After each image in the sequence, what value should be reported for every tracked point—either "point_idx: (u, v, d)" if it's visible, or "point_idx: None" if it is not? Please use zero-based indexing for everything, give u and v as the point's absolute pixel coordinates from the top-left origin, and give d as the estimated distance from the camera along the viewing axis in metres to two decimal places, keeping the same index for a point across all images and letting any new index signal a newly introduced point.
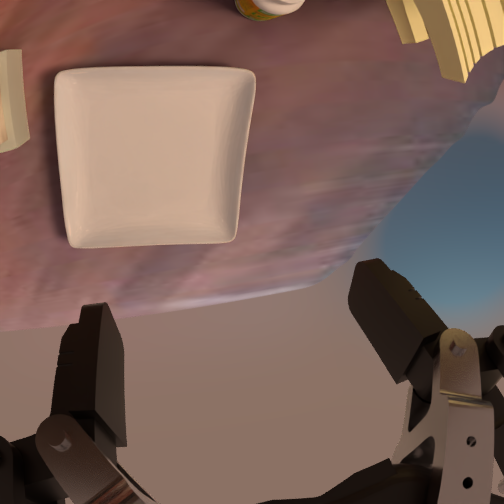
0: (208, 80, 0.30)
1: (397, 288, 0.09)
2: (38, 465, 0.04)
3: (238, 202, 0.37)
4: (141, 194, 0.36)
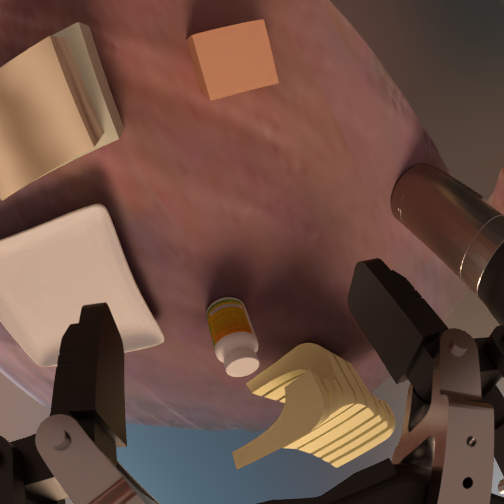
0: (142, 314, 0.38)
1: (397, 288, 0.09)
2: (38, 465, 0.04)
3: None
4: (30, 295, 0.33)
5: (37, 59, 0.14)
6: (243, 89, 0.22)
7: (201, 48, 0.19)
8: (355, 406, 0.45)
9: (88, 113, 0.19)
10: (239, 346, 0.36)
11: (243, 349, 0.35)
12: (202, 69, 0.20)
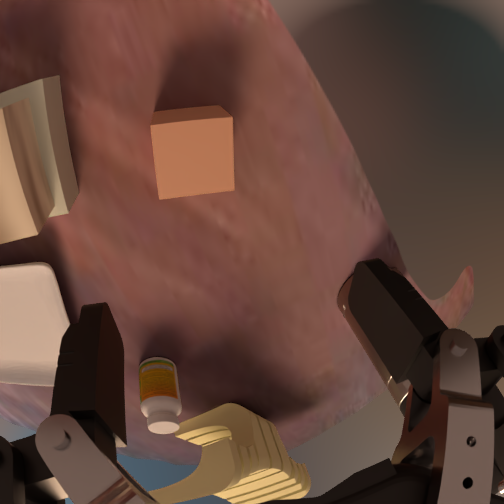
0: None
1: (397, 288, 0.09)
2: (38, 465, 0.04)
3: (7, 382, 0.33)
4: None
5: None
6: (195, 192, 0.23)
7: (158, 142, 0.20)
8: (270, 470, 0.44)
9: (37, 191, 0.19)
10: (163, 409, 0.34)
11: (166, 413, 0.34)
12: (155, 165, 0.21)
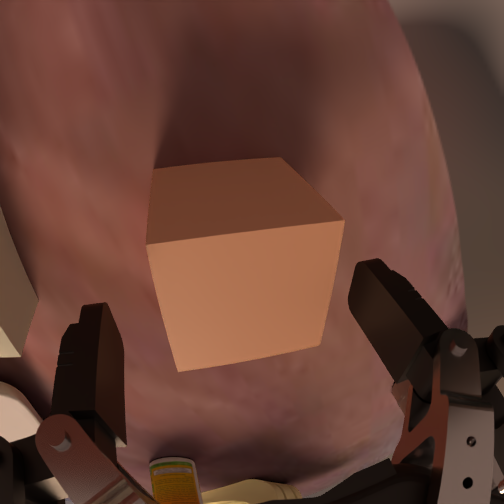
0: None
1: (397, 288, 0.09)
2: (38, 465, 0.04)
3: None
4: None
5: None
6: (248, 357, 0.11)
7: (169, 280, 0.09)
8: None
9: None
10: None
11: None
12: (166, 323, 0.10)
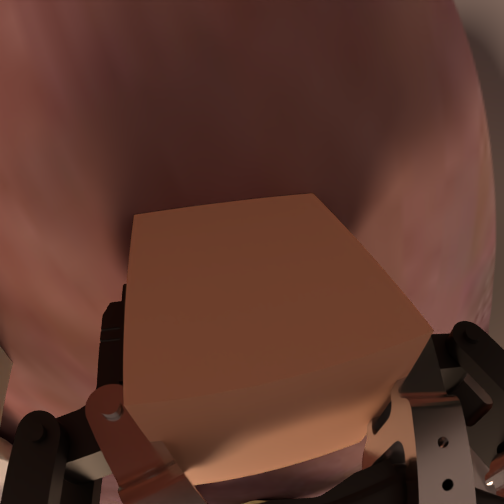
0: None
1: None
2: (85, 448, 0.05)
3: None
4: None
5: None
6: (274, 467, 0.08)
7: (167, 433, 0.05)
8: None
9: None
10: None
11: None
12: None
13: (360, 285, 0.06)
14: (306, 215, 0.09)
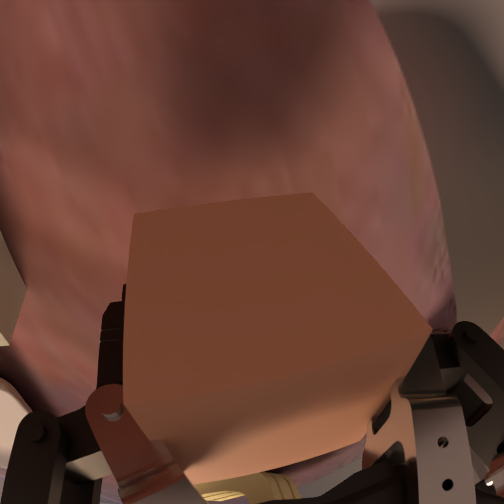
0: None
1: None
2: (85, 449, 0.05)
3: None
4: None
5: None
6: (274, 467, 0.08)
7: (167, 432, 0.05)
8: None
9: None
10: None
11: None
12: None
13: (359, 284, 0.06)
14: (305, 214, 0.09)
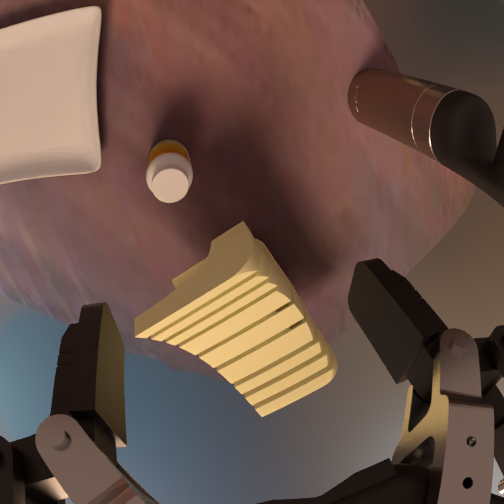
0: (89, 133, 0.34)
1: (397, 288, 0.09)
2: (38, 465, 0.04)
3: (0, 182, 0.32)
4: None
5: None
6: None
7: None
8: (291, 310, 0.43)
9: None
10: (172, 164, 0.33)
11: (175, 165, 0.32)
12: None
13: None
14: None
